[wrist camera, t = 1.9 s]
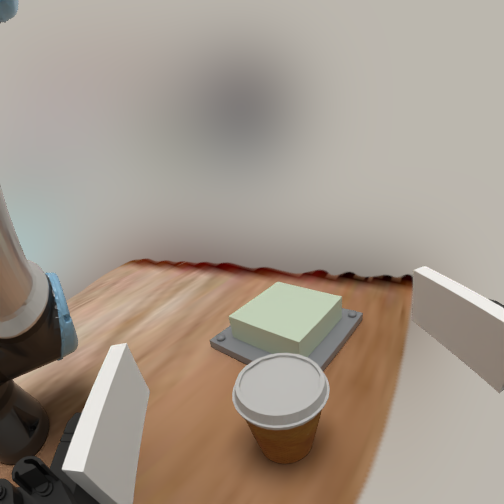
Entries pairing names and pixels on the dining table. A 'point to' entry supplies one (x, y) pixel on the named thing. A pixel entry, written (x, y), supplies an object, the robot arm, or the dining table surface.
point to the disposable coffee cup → (282, 403)
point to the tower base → (288, 325)
